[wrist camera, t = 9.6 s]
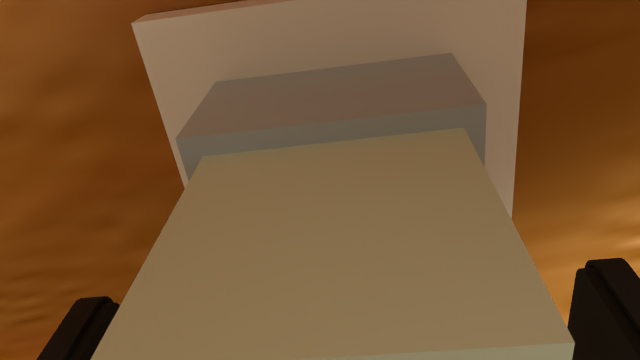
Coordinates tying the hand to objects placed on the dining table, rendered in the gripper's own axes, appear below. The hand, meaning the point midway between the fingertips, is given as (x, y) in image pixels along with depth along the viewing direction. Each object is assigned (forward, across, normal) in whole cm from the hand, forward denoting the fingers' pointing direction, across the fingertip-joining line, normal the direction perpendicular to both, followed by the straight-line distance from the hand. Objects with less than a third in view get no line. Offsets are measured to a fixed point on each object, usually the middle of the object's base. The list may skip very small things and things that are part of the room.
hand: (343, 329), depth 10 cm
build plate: (+8, 0, 0) cm, 8 cm away
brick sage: (+3, 0, 0) cm, 3 cm away
